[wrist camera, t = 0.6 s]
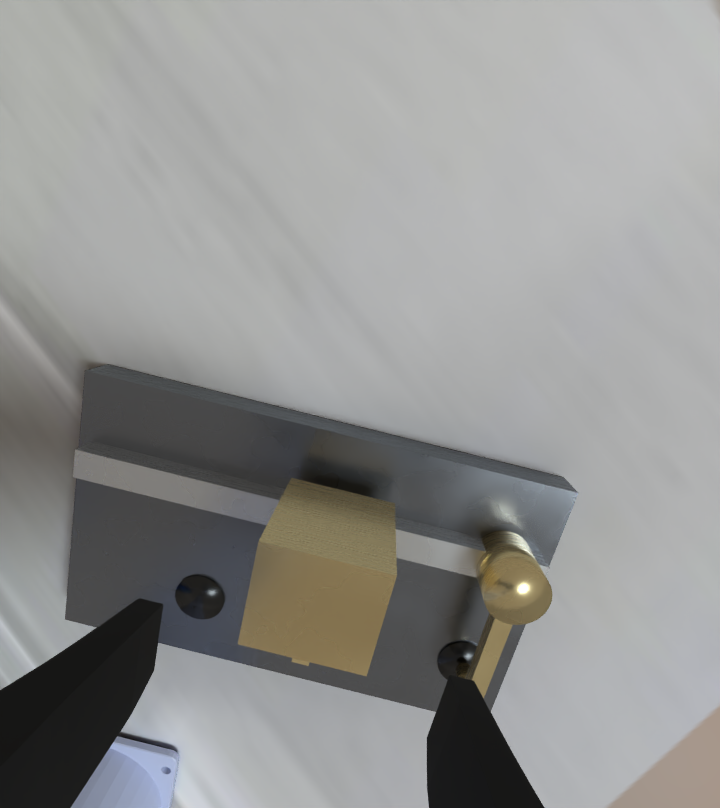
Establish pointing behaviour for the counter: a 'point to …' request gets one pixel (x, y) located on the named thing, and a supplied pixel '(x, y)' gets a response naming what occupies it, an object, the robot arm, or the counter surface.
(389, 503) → the leg
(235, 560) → the bolt plate
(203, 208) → the counter surface
